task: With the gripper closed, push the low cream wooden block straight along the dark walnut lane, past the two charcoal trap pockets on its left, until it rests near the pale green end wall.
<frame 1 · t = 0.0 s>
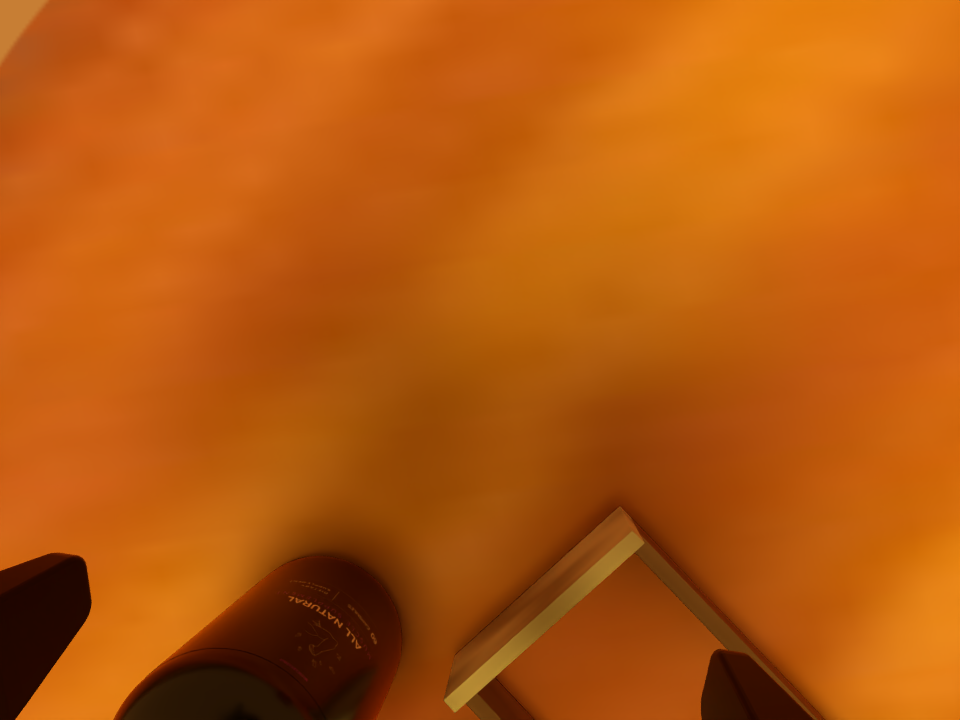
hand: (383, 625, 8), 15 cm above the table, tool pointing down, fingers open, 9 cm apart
supplement bottle: (326, 627, 25), on the table
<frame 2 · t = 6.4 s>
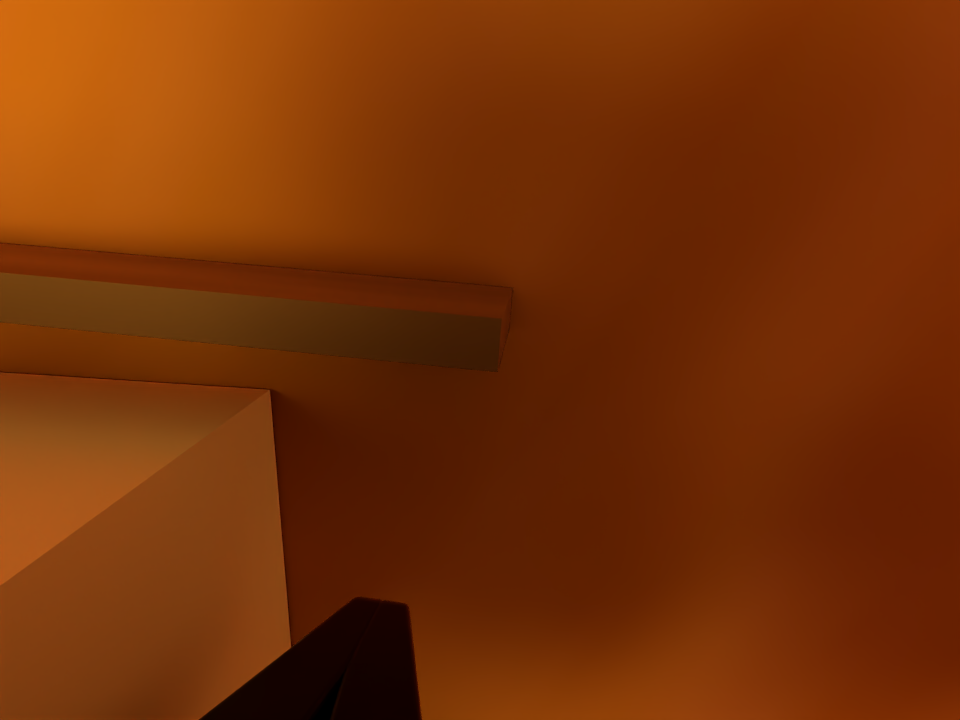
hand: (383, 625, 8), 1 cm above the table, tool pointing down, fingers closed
cream block: (86, 513, 10), on the table, touching gripper
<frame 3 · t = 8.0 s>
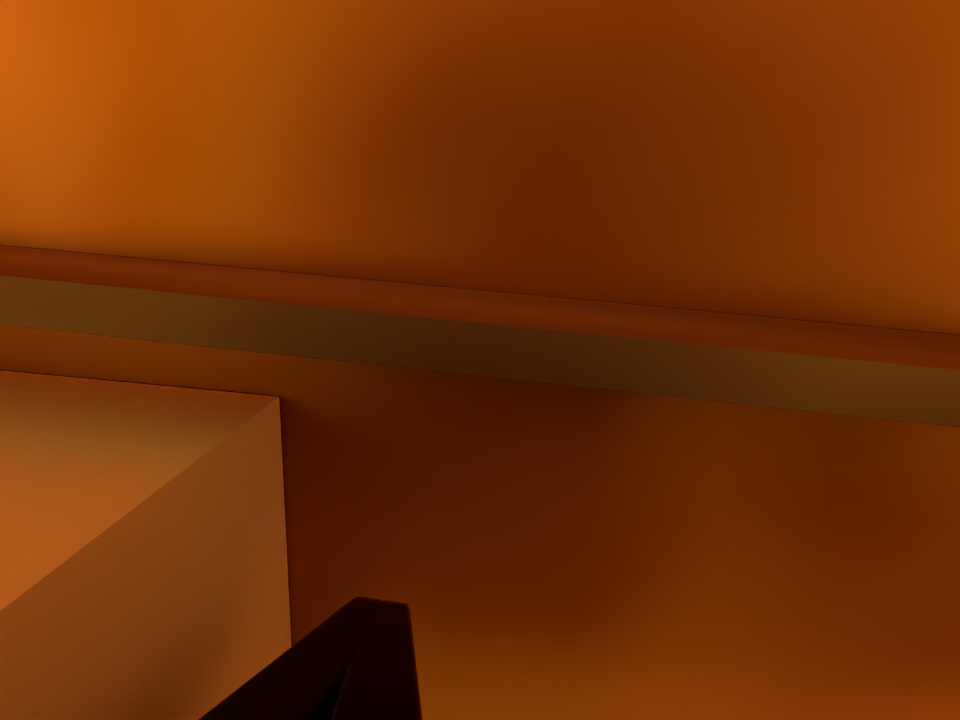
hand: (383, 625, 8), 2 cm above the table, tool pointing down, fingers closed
cream block: (92, 513, 10), on the table, touching gripper
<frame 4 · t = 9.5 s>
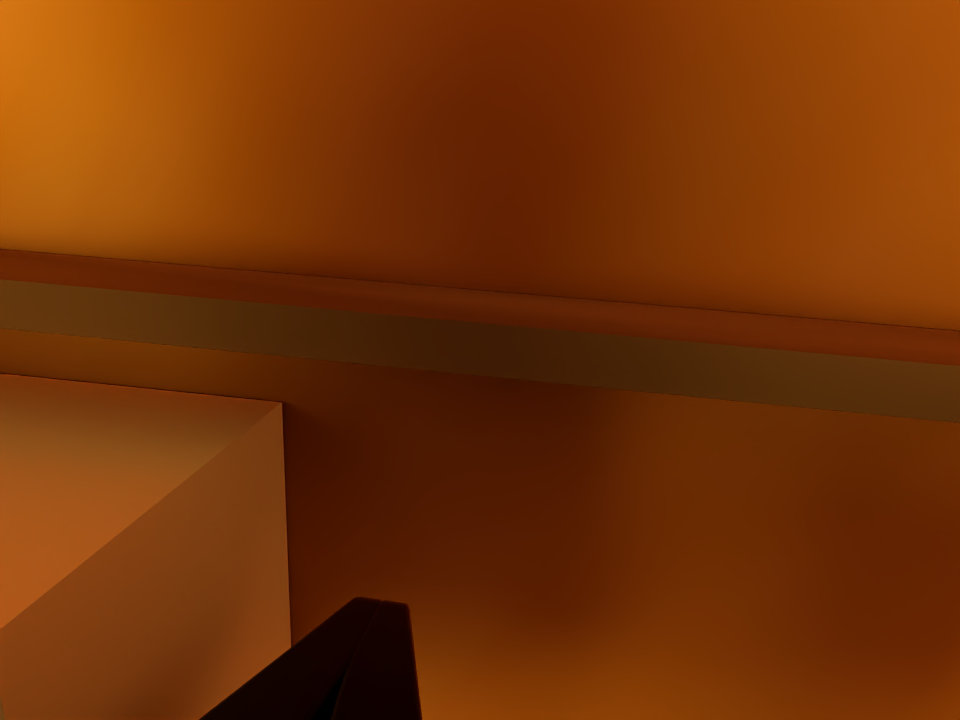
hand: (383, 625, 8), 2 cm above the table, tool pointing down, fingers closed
cream block: (92, 517, 10), on the table, touching gripper
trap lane: (274, 543, 10), on the table
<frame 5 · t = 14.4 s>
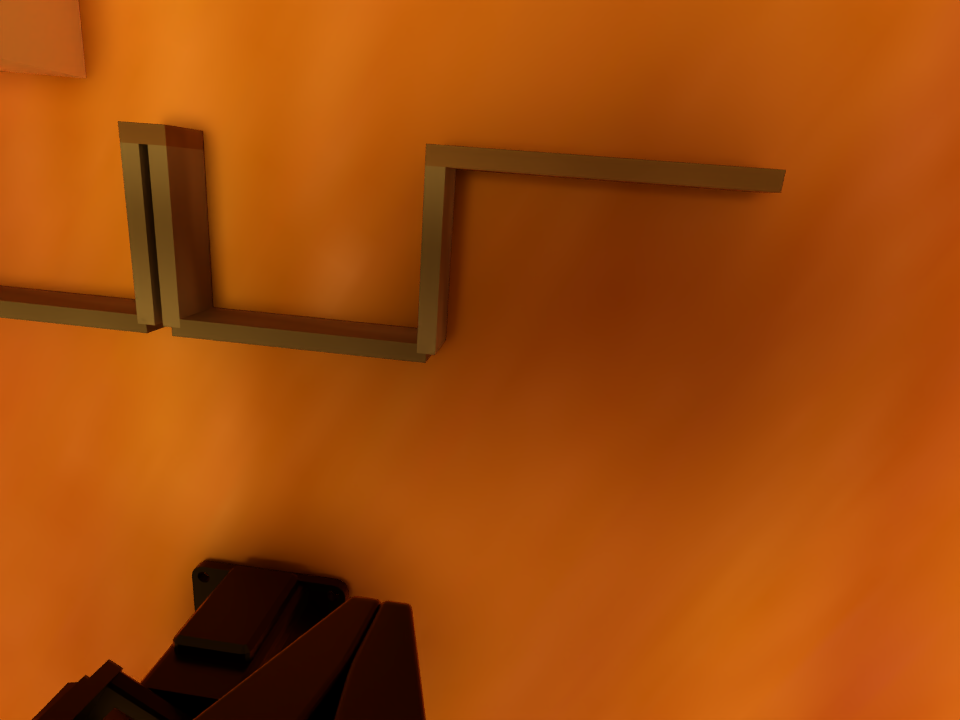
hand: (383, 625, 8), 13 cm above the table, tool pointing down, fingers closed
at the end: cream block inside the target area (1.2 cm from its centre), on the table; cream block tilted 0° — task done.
